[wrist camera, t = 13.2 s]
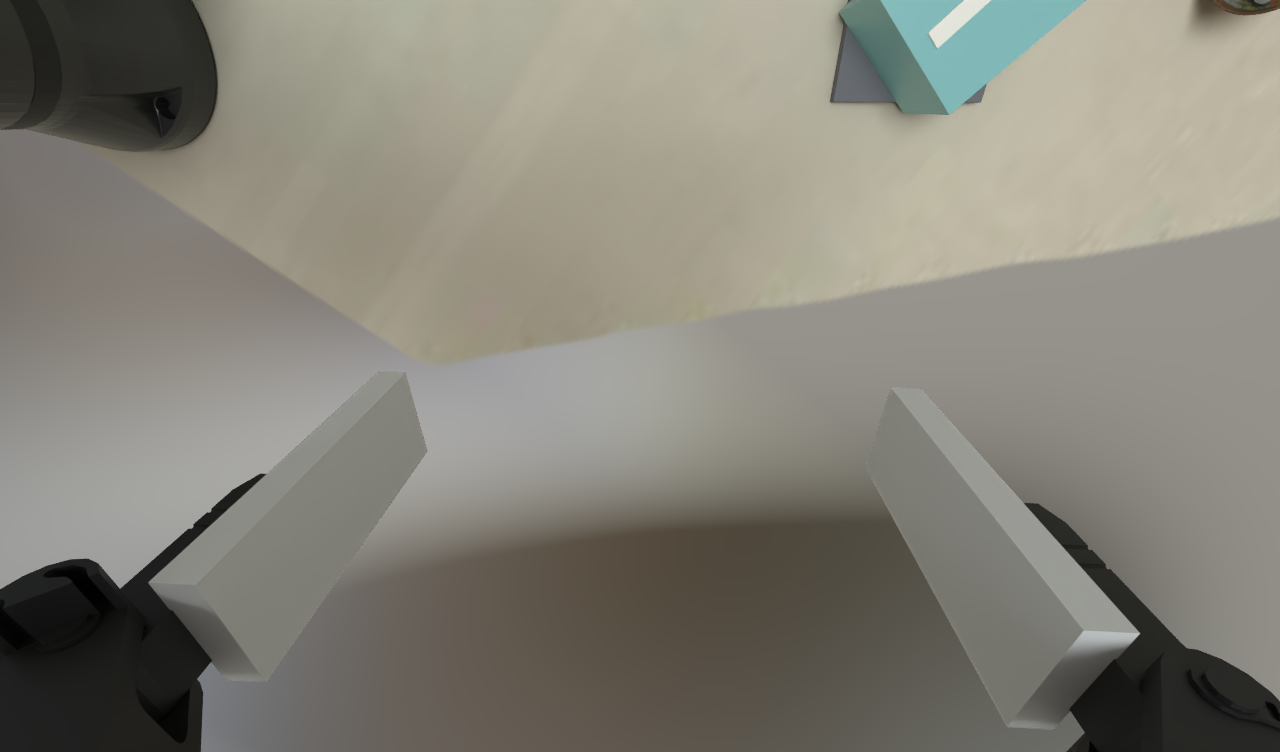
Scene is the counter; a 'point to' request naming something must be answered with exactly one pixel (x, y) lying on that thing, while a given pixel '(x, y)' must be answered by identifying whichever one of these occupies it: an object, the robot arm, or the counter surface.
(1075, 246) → the counter surface
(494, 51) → the counter surface
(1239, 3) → the tin
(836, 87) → the mat
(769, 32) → the counter surface
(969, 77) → the striped light blue box
